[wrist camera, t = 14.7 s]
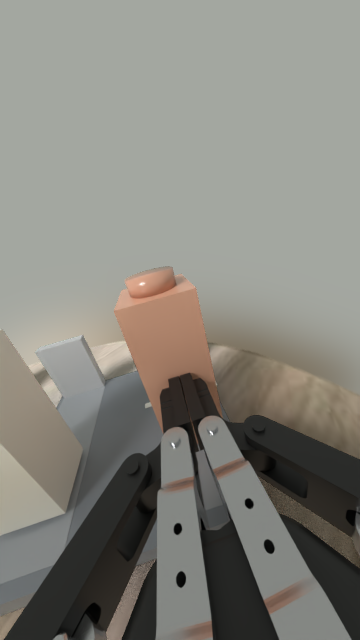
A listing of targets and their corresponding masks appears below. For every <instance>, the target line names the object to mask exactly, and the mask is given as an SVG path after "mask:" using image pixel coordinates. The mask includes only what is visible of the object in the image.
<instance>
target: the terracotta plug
mask: <svg viewBox="0 0 360 640" xmlns="http://www.w3.org/2000/svg"><path fill="white" fill-rule="evenodd" d="M125 284H126V286H127V289H124V290H122V291H121V294H120V296H119V298H118V301H117V304H116V306H115V309H114V313H115V316H116V318H117V320H118V323H119V325H120V328H121V330H122V332H123V335H124V338H125V340H126V343H127V345H128V348H129V350H130V353H131V355H132V358H133V360H134V363H135V365H136V368H137V370H138V373H139V375H140V378H141V380H142V383H143V385H144V388H145V390H146V393H147V395H148V398H149V400H150V403H151V405H152V408H153V410H154V413H155V415H156V417H157V420H158V422H159V425H160V427H161V430H162V432H163V424H162V415H161V404H160V394H161V391H162V389H165V388H169V383H168V379H170V378H173V377H176V376H179V379H180V375H183V374H186V373H189V372H190V374H191V376H192V379H193V380H194V379H198V378H201V379H202V380H204V381H205V382H206V384H207V387H208V389H209V391H210V394H211V396H212V398H213V401H214V403H215V405H216V407H217V410H218V412H219V414H220V416H221V417H222V418H223V416H222V411H221V406H220V401H219V397H218V392H217V387H216V382H215V377H214V372H213V368H212V363H211V358H210V353H209V348H208V343H207V339H206V334H205V329H204V324H203V319H202V315H201V310H200V305H199V300H198V295H197V291H196V287H194V286H193V285H192V284H191V283H190V282H189V281H188V280H187V279H186V278H185V277H184V276H183V275H182V274H179V275H175V276H174V272H173V268H172V267H159V268H154V269H151V270H146V271H143V272H140V273H137V274H135V275H132V276H130V277H128V278H126V279H125ZM180 382H181V379H180ZM181 385H182V383H181ZM182 389H183V387H182ZM183 392H184V391H183ZM184 395H185V394H184ZM185 399H186V398H185ZM186 403H187V402H186ZM189 414H190V413H189ZM190 418H191V417H190ZM191 422H192V421H191ZM192 425H193V424H192ZM193 429H194V428H193ZM194 433H195V431H194ZM195 437H196V434H195ZM196 441H197V438H196ZM197 444H198V441H197Z"/></svg>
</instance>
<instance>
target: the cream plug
mask: <svg viewBox="0 0 360 640" xmlns="http://www.w3.org/2000/svg"><path fill="white" fill-rule="evenodd" d="M82 452H83V447H82V446H81V444H80V443H79V441H78V440H77V438H76V437H75V435H74V434H73V433H72V431H71V430H70V428H69V427H68V425H67V424H66V422H65V421H64V419H63V418H62V416H61V415H60V413H59V412H58V410H57V409H56V407H55V406H54V405H53V403H52V402H51V400H50V399H49V397H48V396H47V394H46V393H45V391H44V390H43V388H42V387H41V385H40V384H39V382H38V381H37V379H36V378H35V377H34V375H33V374H32V372H31V371H30V369H29V368H28V366H27V365H26V363H25V362H24V360H23V359H22V357H21V356H20V354H19V353H18V352H17V350H16V349H15V347H14V346H13V344H12V343H11V341H10V340H9V338H8V337H7V335H6V334H5V332H4V331H3V330H2V329H0V536H1V535H4V534H6V533H9V532H12V531H15V530H18V529H21V528H24V527H27V526H30V525H33V524H36V523H39V522H41V521H44V520H47V519H50V518H53V517H56V516H59V515H62V514H65V513H66V510H67V506H68V502H69V499H70V495H71V492H72V488H73V484H74V481H75V477H76V473H77V470H78V466H79V463H80V459H81V455H82Z"/></svg>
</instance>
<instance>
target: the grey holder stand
mask: <svg viewBox="0 0 360 640" xmlns="http://www.w3.org/2000/svg"><path fill="white" fill-rule="evenodd" d="M35 353H36V355H37V356H38V358H39V359H40V361H41V363H42V364H43V366H44V367H45V369H46V370H47V372H48V374H49V375H50V377H51V378H52V380H53V381H54V383H55V385H56V386H57V388H58V389H59V391H60V392H61V394H62V398H61V400H60V402H59V404H58V406H57V408H56V409H57V410H58V412H59V413H60V415H61V416H62V418H63V419H64V421H65V422H66V424H67V425H68V427H69V428H70V430H71V431H72V433H73V434H74V435H75V437H76V438H77V440H78V441H79V443H80V444H81V446H82V447H83V452H82V455H81V459H80V463H79V466H78V470H77V473H76V477H75V481H74V484H73V488H72V492H71V495H70V499H69V502H68V506H67V510H66V513H65V514H62V515H59V516H56V517H53V518H50V519H47V520H44V521H41V522H39V523H36V524H33V525H30V526H27V527H24V528H21V529H18V530H15V531H12V532H9V533H6V534H4V535H1V536H0V616H2V615H5V614H8V613H10V612H13V611H16V610H18V609H21V608H24V607H26V606H27V604H28V603H29V601H30V600H31V598H32V597H33V596H34V594H35V593H36V591H37V590H38V588H39V587H40V585H41V584H42V582H43V581H44V579H45V578H46V576H47V575H48V573H49V572H50V570H51V569H52V567H53V566H54V564H55V563H56V561H57V560H58V558H59V557H60V555H61V554H62V552H63V551H64V549H65V548H66V546H67V545H68V543H69V542H70V540H71V539H72V537H73V536H74V534H75V533H76V532H77V530H78V529H79V527H80V526H81V524H82V523H83V521H84V520H85V518H86V517H87V515H88V514H89V512H90V511H91V509H92V508H93V506H94V505H95V503H96V502H97V500H98V499H99V497H100V496H101V494H102V493H103V491H104V490H105V488H106V487H107V485H108V484H109V482H110V481H111V479H112V478H113V476H114V475H115V473H116V472H117V470H118V469H119V468H120V466H121V465H122V463H123V462H124V460H125V459H126V458H127V457H129V456H130V455H132V454H135V453H142V454H144V455H145V456H146V455H147V454H148V453H150V452H151V451H153V450H154V449H155V448H156V447H157V446H158V445H159V444H160V442H161V439H162V437H163V432H162V430H161V427H160V425H159V422H158V420H157V417H156V415H155V413H154V410H153V408H152V405H151V403H150V400H149V398H148V395H147V393H146V390H145V388H144V385H143V383H142V380H141V378H140V375H139V373H138V371H135V372H132V373H128V374H125V375H122V376H119V377H115V378H112V379H109V380H105V378H104V376H103V374H102V372H101V370H100V368H99V366H98V364H97V362H96V360H95V358H94V356H93V354H92V352H91V350H90V348H89V346H88V344H87V342H86V340H85V338H84V336H83V335H81V336H77V337H74V338H70V339H67V340H63V341H60V342H56V343H53V344H50V345H46V346H42V347H40V348H38V350H37V351H36V352H35ZM215 382H216V381H215ZM216 386H218V385H217V383H216ZM219 401H220V400H219ZM220 406H221V411H222V416H223V419H224V420H226V421H228V422H230V421H229V419H228V417H227V415H226V413H225V410H224V408H223V406H222V404H221V402H220ZM198 448H199V451H198V452H196V456H197V460H198V468H199V473H200V479H201V485H202V491H203V497H204V503H205V509H206V514H207V518H208V522H209V527H210V530H219V529H220V528H222V527H223V526H224V525H225V524H227V523H228V519H227V516H226V513H225V510H224V507H223V504H222V501H221V499H220V496H219V493H218V490H217V488H216V485H215V482H214V479H213V477H212V474H211V471H210V468H209V466H208V462H207V459H206V455H205V452H204V450H201V451H200V447H199V444H198ZM154 559H157V520H156V522H155V524H154V526H153V528H152V531H151V533H150V535H149V537H148V540H147V542H146V544H145V546H144V548H143V551H142V553H141V555H140V557H139V560H138V562H137V564H136V566H138V565H140V564H143V563H146V562H149V561H151V560H154Z"/></svg>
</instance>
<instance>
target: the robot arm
mask: <svg viewBox="0 0 360 640" xmlns="http://www.w3.org/2000/svg"><path fill="white" fill-rule="evenodd" d="M180 379H181V382H180ZM180 379H179V376H176V377H173V378H170V379H168V383H169V388H165V389H162V391H161V394H160V404H161V415H162V424H163V437H162V439H161V442H160V444H159V445H158V446H157V447H156V448H155V449H154V450H153V451H151V452H150V453H148V454H147V455H146V456H145V455H144V454H142V453H135V454H132V455H130V456H129V457H127V458H126V459H125V460H124V462H123V463H122V465H121V466H120V468H119V469H118V470H117V472H116V473H115V475H114V476H113V478H112V479H111V481H110V482H109V484H108V485H107V487H106V488H105V490H104V491H103V493H102V494H101V496H100V497H99V499H98V500H97V502H96V503H95V505H94V506H93V508H92V509H91V511H90V512H89V514H88V515H87V517H86V518H85V520H84V521H83V523H82V524H81V526H80V527H79V529H78V530H77V532H76V533H75V534H74V536H73V537H72V539H71V540H70V542H69V543H68V545H67V546H66V548H65V549H64V551H63V552H62V554H61V555H60V557H59V558H58V560H57V561H56V563H55V564H54V566H53V567H52V569H51V570H50V572H49V573H48V575H47V576H46V578H45V579H44V581H43V582H42V584H41V585H40V587H39V588H38V590H37V591H36V593H35V594H34V596H33V597H32V598H31V600H30V601H29V603H28V604H27V606H26V607H25V609H24V610H23V612H22V613H21V615H20V616H19V618H18V619H17V621H16V622H15V624H14V625H13V627H12V628H11V630H10V631H9V633H8V634H7V636H6V637H5V639H4V640H107V636H106V631H107V628H108V626H109V624H110V622H111V620H112V617H113V615H114V613H115V611H116V608H117V606H118V604H119V602H120V600H121V597H122V595H123V593H124V591H125V588H126V586H127V584H128V582H129V580H130V577H131V575H132V573H133V571H134V568H135V566H136V564H137V562H138V560H139V557H140V555H141V553H142V551H143V548H144V546H145V544H146V542H147V540H148V537H149V535H150V533H151V531H152V528H153V526H154V524H155V522H156V520H157V560H156V561H155V562H154V564H153V566H152V567H151V569H150V570H149V572H148V574H147V576H146V578H145V580H144V583H143V585H142V588H141V590H140V593H139V596H138V598H137V601H136V603H135V606H134V609H133V611H132V614H131V617H130V619H129V622H128V624H127V627H126V630H125V632H124V635H123V637H122V640H360V569H359V568H358V567H357V566H355V565H354V564H353V563H351V562H350V561H349V560H348V559H346V558H345V557H344V556H342V555H341V554H340V553H338V552H337V551H336V550H334V549H333V548H332V547H330V546H329V545H328V544H326V543H325V542H324V541H323V540H321V539H320V538H319V537H317V536H316V535H315V534H313V533H312V532H311V531H309V530H308V529H307V528H305V527H304V526H303V525H301V524H300V523H298V522H297V521H295V520H293V519H292V518H289V517H287V516H285V515H282V514H279V513H277V511H276V509H275V507H274V505H273V504H272V502H271V500H270V498H269V496H268V495H267V493H266V491H265V489H264V487H263V486H262V484H261V482H260V480H259V478H258V477H257V475H258V476H259V477H261V478H262V479H264V480H265V481H267V482H268V483H270V484H271V485H273V486H274V487H276V488H277V489H279V490H280V491H282V492H283V493H285V494H286V495H288V496H289V497H291V498H293V499H294V500H296V501H297V502H299V503H300V504H302V505H303V506H305V507H306V508H308V509H309V510H311V511H312V512H314V513H315V514H317V515H318V516H320V517H321V518H323V519H324V520H326V521H327V522H329V523H330V524H332V525H333V526H335V527H337V528H338V529H340V530H341V531H343V532H344V533H346V534H347V535H349V536H350V537H352V541H353V544H354V547H355V549H356V551H357V553H358V555H359V556H360V459H357V458H355V457H353V456H351V455H348V454H346V453H344V452H342V451H339V450H337V449H335V448H333V447H331V446H328V445H326V444H324V443H322V442H319V441H317V440H315V439H313V438H310V437H308V436H306V435H304V434H302V433H299V432H297V431H295V430H293V429H290V428H288V427H286V426H284V425H281V424H279V423H277V422H275V421H273V420H270V419H268V418H266V417H263V416H260V415H253V416H250V417H248V418H247V419H246V420H245V421H244V423H232V422H228V421H226V420H224V419H223V418H222V417H221V416H220V414H219V412H218V410H217V407H216V405H215V403H214V401H213V398H212V396H211V394H210V391H209V389H208V387H207V384H206V382H205V381H204V380H202V379H201V378H198V379H194V380H193V379H192V376H191V374H190V372H189V373H186V374H183V375H180ZM181 383H182V385H181ZM182 387H183V389H182ZM183 391H184V392H183ZM184 394H185V395H184ZM185 398H186V399H185ZM186 402H187V403H186ZM189 413H190V414H189ZM190 417H191V418H190ZM191 421H192V422H191ZM192 424H193V425H192ZM193 428H194V429H193ZM194 431H195V433H194ZM195 434H196V437H195ZM196 438H197V441H198V444H199V447H200V451H201V450H204V452H205V455H206V459H207V462H208V466H209V468H210V471H211V474H212V477H213V479H214V482H215V485H216V488H217V490H218V493H219V496H220V499H221V501H222V504H223V507H224V510H225V513H226V516H227V519H228V523H227V524H225V525H224V526H223V527H222V528H220V529H219V530H210V527H209V522H208V518H207V514H206V509H205V503H204V497H203V491H202V485H201V479H200V473H199V468H198V460H197V456H196V452H198V451H199V448H198V444H197V441H196Z"/></svg>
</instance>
